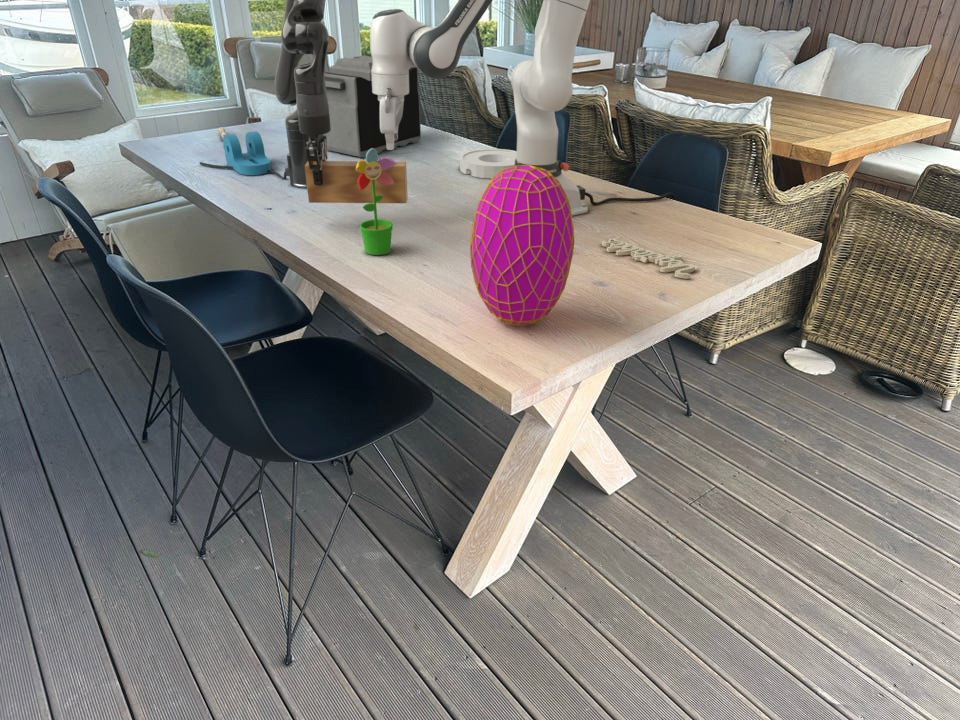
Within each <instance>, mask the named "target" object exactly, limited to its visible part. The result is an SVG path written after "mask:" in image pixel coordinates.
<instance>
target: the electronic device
mask: <svg viewBox="0 0 960 720" xmlns="http://www.w3.org/2000/svg"><path fill="white" fill-rule="evenodd" d="M372 65H373V60H372V56H367V55H356V56H353V57H350V58H349V57H343V58H342V57H341V58H337V59H336V60H335V63H334V64H333V65H330V66H329V67H328V72H327V71H325V85H326V95H327V99H328V106H329V116H330V127H331V130H330V132H329V133H326V134H323V135H324V136H326V137H327V139H326V141H327V151H330V152H335V153H340V154H344V155H348V156H353V157H357V158H362V159H363V158H366V153H367V152H368V151H369V150H370V149H371V148H374V149H376V151H377V153H378V154H381V153H382V152H383V151H389V150H388V149H387V147H386V139H385V133H381V131H380V101H378V95H376V94H373V93H372V74H371V69H372ZM419 91H420V89H419V69H418V68H416V67H411V68H410V69H409V94H407V95H404V104H403V114H402V118H401V121H400V123H399V125H398V139H397V141H394V149H396V148H397V147H405V146H407V145H408V144H416V143H418V142H419V141H421V137H422V128H421V97H420V92H419Z"/></svg>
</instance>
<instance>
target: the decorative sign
mask: <svg viewBox="0 0 960 720" xmlns="http://www.w3.org/2000/svg"><path fill="white" fill-rule="evenodd" d="M601 246H602V247H604V248H605V247H606V252H607V253H615V255H616V256H628V255H630V256H631V259H632V260H634V261H635V262H642V263H644V264H646V263H648V262H649V263H654V264H655V265H659V266H660V270H659V271H660V272H661V273H670V272H671V273H672V272H674V277H676V278H679V279H685V280H686V279H687V280H689V279H690V278H691V273H693V272H694V271H695V270H696V269H695V268H696V266H695V264H692V263H684V261H683V260H682V259H683V258H682V257H683V256H682V255H681V254H672V255H664V254H662V253H659V252H658V253H656V252H655V251H653V250H650V249H645V248H644V247H642V246H641V247H640V246H637V245H635V244H630V242H626V241H623V240H618V239H617V238H613V237H612V238H608V240H607V241H606V240H602V242H601Z"/></svg>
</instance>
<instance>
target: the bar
mask: <svg viewBox="0 0 960 720" xmlns="http://www.w3.org/2000/svg"><path fill="white" fill-rule="evenodd" d="M358 161H359V160H358ZM358 161H356V160H355V161H354V160H351V161H350V160H345V161H344V160H326V161H322V176H323V184H322V185H315V184H314V179H313V170H310V168H309V162H307V163H306V165H305V173H306V182H307V188H306V190H307V198H308V203H310V204H312V203H313V204H373V191H372V180H370V183H369V184H368V186H367V187H366V188H365V189H363V190H360V188H359V186H358V183H357V181H358V178H359V176H360V175H361V174H362V173H359V172H357V171H356V166H357V163H358ZM364 161H365V162H367V161H366V160H364ZM395 162H396V164H395V165H394V166H392V167H391V168H389V169H386V170H382V171H385V172H386V173H388V174H389V175H390V176H391V178H392V179H393V181H394V183H395V184H394V185H389V186H388V185H383V184H381V183H379V182H378V181H377V179H376V180H375V194H376V196H378V195H381V196H383V198H382V199H381V200H380V201H379V202H376V204H407V202H408V175H407V174H408V173H407V161H395ZM314 165H317V162H315V161H314Z"/></svg>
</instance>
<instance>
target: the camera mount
mask: <svg viewBox="0 0 960 720" xmlns="http://www.w3.org/2000/svg"><path fill="white" fill-rule="evenodd" d="M222 143H223V149H224V150H223V151H224V156H225V161H226V166H233V169H232V170H234V171H236V172H237V173H238V174H239V175H244V176H260V175H265V174H268V173H269V172H268V170H272V164H271V159H270V158H268V157H267V156H266V153H265V145H264V141H263V139H262V136H261V134H260V132H258V131H247V132H246V133H245V146H246V152H243V151H242V150H243V149H242V146H241V142H240V140H239V138H238V135H236V134H235V133H231V134H228V135H224V137H223V141H222Z"/></svg>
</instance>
